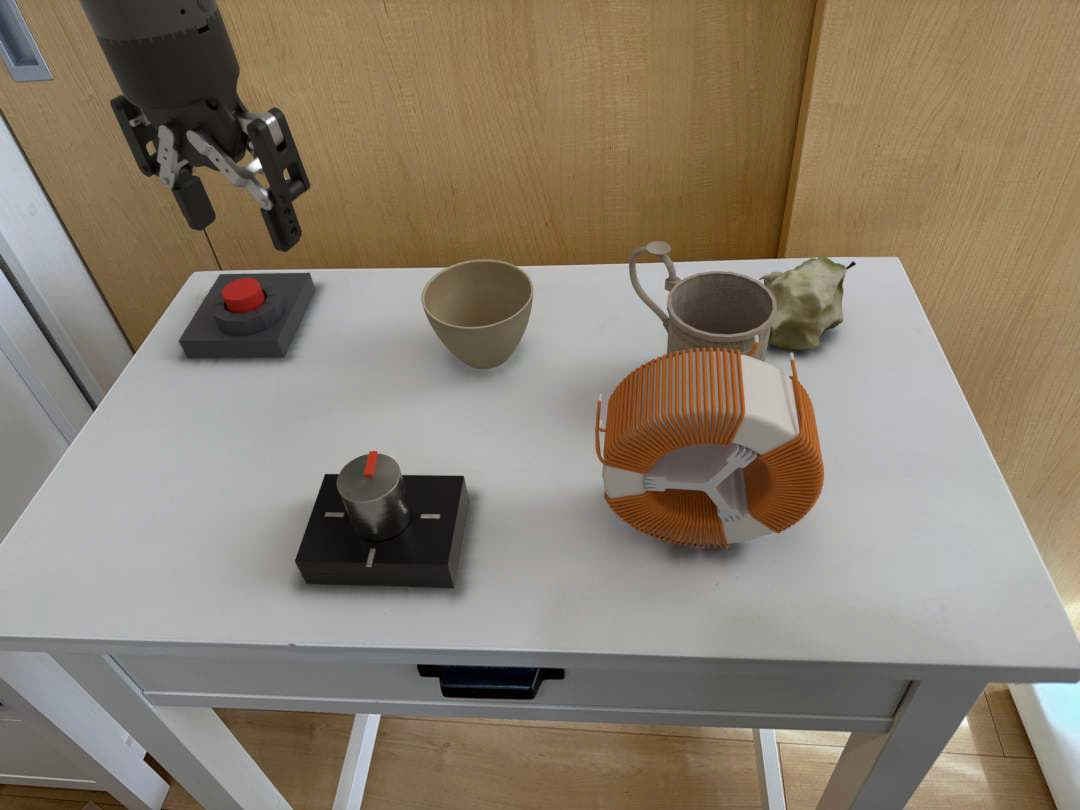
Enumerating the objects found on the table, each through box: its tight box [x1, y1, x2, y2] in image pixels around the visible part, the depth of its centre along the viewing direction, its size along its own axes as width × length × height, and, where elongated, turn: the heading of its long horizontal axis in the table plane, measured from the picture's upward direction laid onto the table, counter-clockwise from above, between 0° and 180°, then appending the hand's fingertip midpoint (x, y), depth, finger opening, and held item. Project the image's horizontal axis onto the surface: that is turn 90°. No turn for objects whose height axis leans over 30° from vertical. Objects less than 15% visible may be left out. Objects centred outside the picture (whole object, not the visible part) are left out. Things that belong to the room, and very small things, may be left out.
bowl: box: [421, 258, 534, 370], centre depth 70 cm, size 10×10×7 cm
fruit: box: [758, 254, 857, 352], centre depth 70 cm, size 9×9×8 cm
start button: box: [222, 278, 265, 313], centre depth 74 cm, size 4×4×2 cm
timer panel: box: [294, 473, 470, 589], centre depth 57 cm, size 11×9×3 cm
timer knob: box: [337, 450, 412, 541], centre depth 54 cm, size 4×4×5 cm
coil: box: [594, 335, 825, 549], centre depth 53 cm, size 7×15×15 cm, turn 83°
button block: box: [178, 272, 316, 358], centre depth 77 cm, size 11×10×4 cm
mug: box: [628, 240, 777, 362], centre depth 64 cm, size 14×10×12 cm
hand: (246, 235), depth 59 cm, fingers open, 8 cm apart
